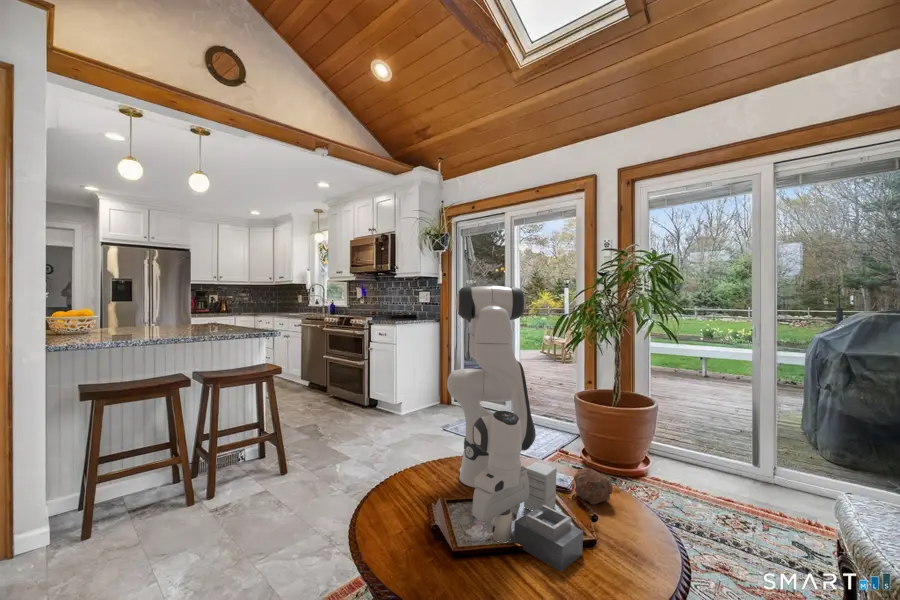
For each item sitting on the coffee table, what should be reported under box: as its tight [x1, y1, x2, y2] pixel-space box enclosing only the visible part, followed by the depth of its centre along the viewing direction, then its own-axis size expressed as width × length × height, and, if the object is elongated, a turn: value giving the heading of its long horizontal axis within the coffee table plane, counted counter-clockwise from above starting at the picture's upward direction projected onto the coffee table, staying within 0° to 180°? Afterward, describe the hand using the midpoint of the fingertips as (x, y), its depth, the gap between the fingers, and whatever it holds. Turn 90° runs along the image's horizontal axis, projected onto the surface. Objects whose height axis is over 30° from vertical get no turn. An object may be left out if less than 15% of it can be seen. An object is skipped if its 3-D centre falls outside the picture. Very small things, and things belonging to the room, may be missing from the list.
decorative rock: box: [573, 467, 614, 505], centre depth 129 cm, size 13×11×10 cm
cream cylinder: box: [491, 509, 513, 543], centre depth 106 cm, size 5×5×8 cm
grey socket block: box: [513, 505, 584, 573], centre depth 103 cm, size 13×14×8 cm
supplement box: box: [523, 461, 557, 511], centre depth 122 cm, size 7×7×13 cm
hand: (501, 525), depth 106 cm, fingers open, 8 cm apart
